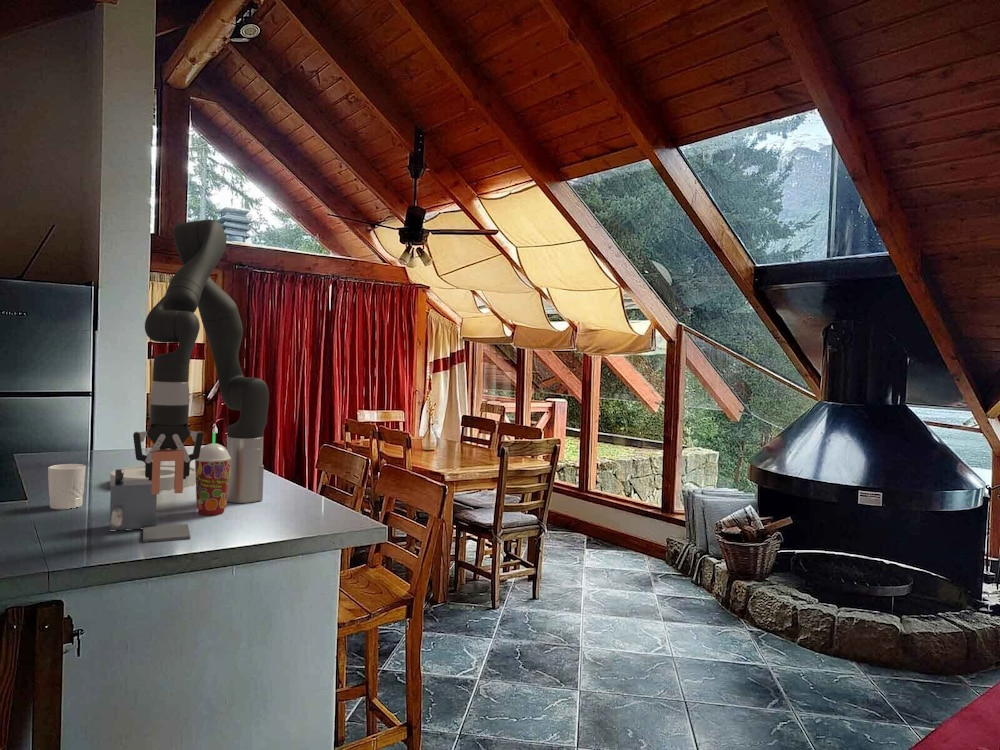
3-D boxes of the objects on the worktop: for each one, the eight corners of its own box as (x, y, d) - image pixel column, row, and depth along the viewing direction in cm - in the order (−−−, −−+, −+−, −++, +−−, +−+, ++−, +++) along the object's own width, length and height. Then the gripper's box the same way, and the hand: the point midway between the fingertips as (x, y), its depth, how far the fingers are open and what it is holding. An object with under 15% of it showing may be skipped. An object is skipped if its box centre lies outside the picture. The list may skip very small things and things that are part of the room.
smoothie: (194, 517, 165) (196, 434, 164) (191, 510, 172) (194, 430, 172) (231, 515, 169) (234, 434, 168) (227, 508, 176) (230, 430, 175)
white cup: (91, 505, 172) (92, 466, 171) (60, 511, 165) (61, 470, 164) (71, 501, 175) (72, 462, 175) (39, 507, 168) (40, 466, 168)
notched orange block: (181, 487, 153) (183, 447, 153) (182, 493, 148) (184, 451, 148) (151, 489, 151) (152, 448, 150) (151, 494, 145) (152, 452, 145)
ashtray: (98, 492, 188) (98, 478, 188) (123, 477, 211) (124, 464, 211) (189, 492, 194) (189, 478, 193) (204, 477, 216) (205, 465, 216)
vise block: (110, 525, 155) (112, 467, 154) (155, 522, 159) (157, 466, 158) (106, 545, 139) (108, 482, 139) (156, 542, 143) (158, 480, 143)
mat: (187, 526, 156) (187, 523, 156) (190, 538, 147) (190, 536, 147) (143, 529, 152) (143, 526, 152) (142, 542, 143) (142, 539, 143)
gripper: (204, 401, 155) (201, 475, 156) (132, 400, 149) (130, 477, 149) (207, 404, 149) (204, 481, 149) (132, 403, 142) (129, 483, 143)
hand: (167, 479), depth 149 cm, fingers closed on notched orange block, 6 cm apart
